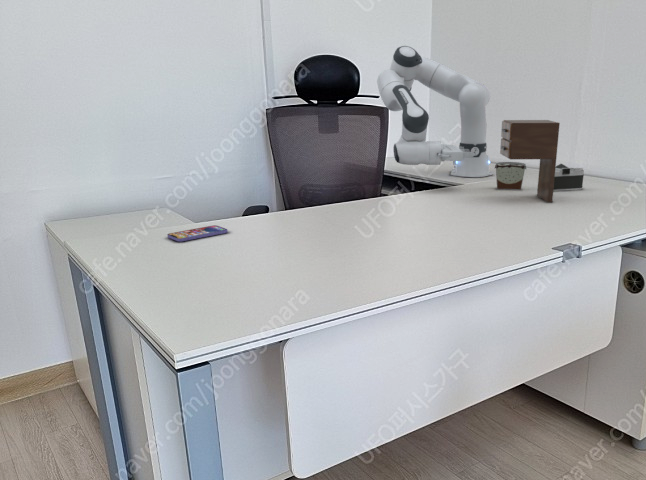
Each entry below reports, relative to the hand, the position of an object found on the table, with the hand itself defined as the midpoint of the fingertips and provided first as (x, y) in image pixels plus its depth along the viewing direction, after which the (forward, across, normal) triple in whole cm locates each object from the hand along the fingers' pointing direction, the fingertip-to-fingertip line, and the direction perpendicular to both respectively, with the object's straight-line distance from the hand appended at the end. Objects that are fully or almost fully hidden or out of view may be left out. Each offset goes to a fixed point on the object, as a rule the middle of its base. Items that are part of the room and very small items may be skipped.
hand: (471, 153), depth 229 cm
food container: (+15, 0, +14) cm, 21 cm away
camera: (+36, -2, +14) cm, 39 cm away
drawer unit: (+17, -22, +14) cm, 31 cm away
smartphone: (-87, -70, +14) cm, 113 cm away
